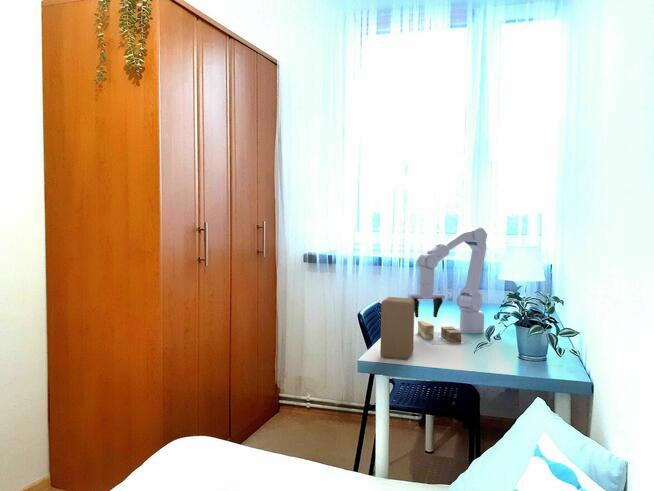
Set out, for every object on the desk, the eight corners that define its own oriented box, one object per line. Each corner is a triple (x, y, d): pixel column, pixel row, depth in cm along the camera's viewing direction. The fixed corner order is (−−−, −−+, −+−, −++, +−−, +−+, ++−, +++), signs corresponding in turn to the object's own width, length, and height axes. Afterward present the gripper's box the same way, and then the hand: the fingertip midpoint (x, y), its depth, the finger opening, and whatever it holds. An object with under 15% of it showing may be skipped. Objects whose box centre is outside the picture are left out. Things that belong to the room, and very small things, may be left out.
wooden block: (413, 353, 202) (415, 298, 201) (408, 360, 193) (409, 302, 191) (386, 351, 205) (387, 296, 204) (379, 358, 196) (380, 300, 194)
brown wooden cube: (451, 336, 228) (452, 326, 228) (455, 339, 224) (456, 329, 224) (441, 336, 228) (441, 326, 228) (444, 339, 223) (445, 329, 223)
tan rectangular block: (426, 332, 235) (426, 320, 234) (433, 338, 225) (433, 325, 224) (417, 332, 234) (418, 320, 234) (424, 338, 224) (425, 326, 224)
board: (454, 332, 237) (454, 332, 237) (472, 344, 217) (472, 343, 217) (416, 333, 235) (416, 332, 235) (431, 345, 215) (431, 344, 215)
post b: (457, 339, 223) (457, 329, 222) (461, 342, 218) (461, 332, 218) (446, 340, 222) (446, 330, 222) (449, 342, 218) (450, 332, 217)
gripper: (412, 284, 223) (411, 319, 224) (447, 284, 225) (446, 318, 226) (407, 282, 230) (406, 315, 231) (441, 282, 232) (440, 315, 233)
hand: (425, 316), depth 229 cm, fingers open, 7 cm apart
